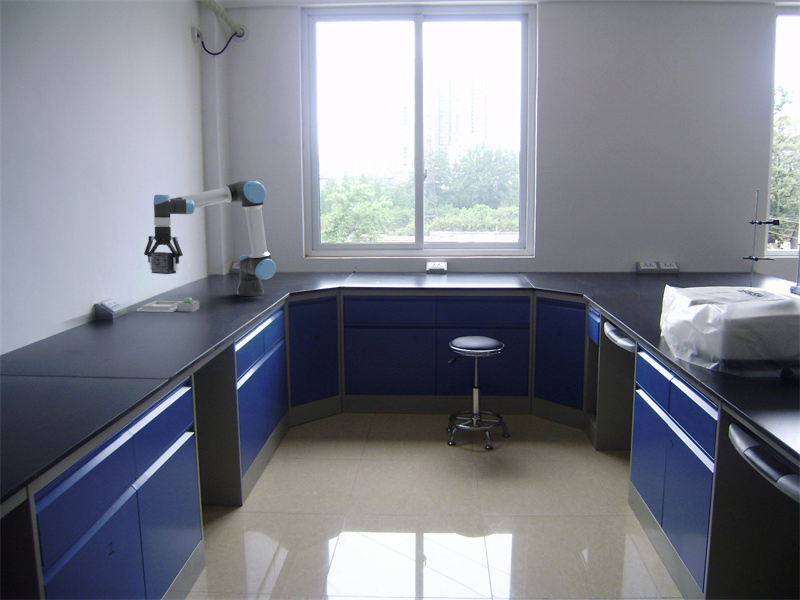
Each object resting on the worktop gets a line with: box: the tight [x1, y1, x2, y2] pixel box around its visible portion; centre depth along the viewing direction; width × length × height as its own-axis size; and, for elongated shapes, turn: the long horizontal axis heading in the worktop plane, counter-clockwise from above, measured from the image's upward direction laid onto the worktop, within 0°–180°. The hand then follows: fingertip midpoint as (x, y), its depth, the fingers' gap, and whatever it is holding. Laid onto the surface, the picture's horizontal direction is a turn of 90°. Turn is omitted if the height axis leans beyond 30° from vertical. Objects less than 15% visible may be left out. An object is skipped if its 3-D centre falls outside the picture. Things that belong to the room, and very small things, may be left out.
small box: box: [151, 251, 177, 275], centre depth 311 cm, size 11×6×10 cm, turn 70°
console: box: [177, 299, 200, 313], centre depth 310 cm, size 8×8×4 cm
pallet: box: [136, 300, 182, 313], centre depth 313 cm, size 18×18×2 cm
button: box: [183, 297, 193, 303], centre depth 309 cm, size 4×4×4 cm
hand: (163, 269), depth 312 cm, fingers closed on small box, 11 cm apart
